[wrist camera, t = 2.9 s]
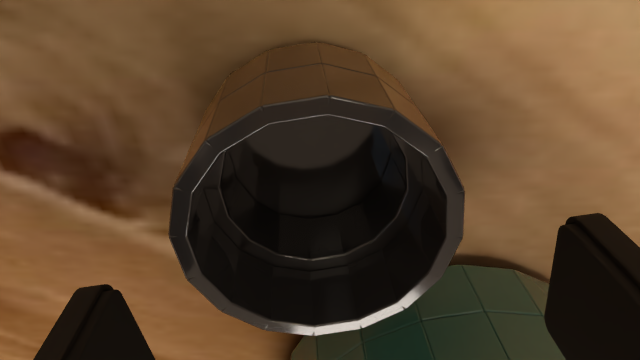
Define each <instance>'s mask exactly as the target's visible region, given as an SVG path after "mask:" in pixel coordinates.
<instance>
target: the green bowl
mask: <svg viewBox="0 0 640 360" xmlns="http://www.w3.org/2000/svg"><path fill="white" fill-rule="evenodd" d="M548 289H549V284H548V283H546V282H543V281H541V280H539V279H536V278H534V277H531V276H529V275H526V274H524V273H522V272H519V271H517V270H514V269H513V270H512V269H507V268H496V267H485V266H475V265H464V264H463V265H459V264H458V265H452V266H448V267H447V269H446V271H445V273H444V275H443V276H442V277H441V279H440V280H439V281H438V282H437V283H435V284H434V285H433V286H432V287H431V288H430V289H429V290H427V291H426V292H425V293H424V294H423V295H422V296H421V297H420V298H418V299H417V300H416V301H415V302H414V303H413V304H412V305H410V306H409V307H408V308H407V309H405V310H403V311H401V312H399V313H396V314H394V315H392V316H390V317H387V318H385V319H383V320H381V321H378V322H376V323H374V324H372V325H370V326H367V327H365V328H361V329H358V330H351V331H345V332H338V333H331V334H325V335H318V336H314V335H313V336H307V335H304V337H303V338H302V339H301V341H300V342H299V343H298V345H297V346H296V347H295V349H294V350H293V352H292V354H291V357H290V360H566V359H565V358H564V356H563V354H562V353H561V351H560V350H559V348H558V346H557V345H556V343H555V342H554V340H553V339H552V337H551V335H550V334H549V332H548V330H547V327H546V324H545V319H544V314H545V308H546V302H547V296H548Z"/></svg>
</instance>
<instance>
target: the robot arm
mask: <svg viewBox="0 0 640 360" xmlns="http://www.w3.org/2000/svg"><path fill="white" fill-rule="evenodd" d="M544 319H545V324H546V327H547V330H548V332H549V334H550V335H551V337H552V339H553V340H554V342H555V343H556V345H557V346H558V348H559V350H560V351H561V353H562V354H563V356H564V358H565V359H566V360H640V247H638V246H637V245H636V244H635V243H634V242H633V241H632V240H631V239H630V238H629V237H628V236H627V235H625V234H624V233H623V232H622V231H621V230H620V229H619V228H618V227H617V226H616V225H615V224H614V223H612V222H611V221H610V220H609V219H608V218H607V217H606V216H604V215H603V214H600V213H595V214H588V215H581V216H574V217H570V218H568V220H567V221H566V224H565V225H562V226H560V228H559V230H558V235H557V241H556V247H555V253H554V259H553V265H552V271H551V277H550V283H549V289H548V296H547V302H546V308H545V314H544ZM33 360H155V358H154V356H153V354H152V352H151V350H150V348H149V346H148V344H147V342H146V340H145V338H144V336H143V335H142V333H141V331H140V329H139V327H138V325H137V323H136V321H135V319H134V317H133V315H132V313H131V311H130V309H129V307H128V305H127V303H126V301H125V299H124V298H123V296H122V294H121V292H120V291H119V290H113V288H112V287H111V286H110V285H108V284H104V285H97V286H90V287H83V288H79V289H77V290H76V291H75V293H74V294H73V296H72V297H71V299H70V300H69V302H68V304H67V305H66V307H65V309H64V310H63V312H62V314H61V315H60V317H59V318H58V320H57V322H56V323H55V325H54V327H53V328H52V330H51V332H50V333H49V335H48V336H47V338H46V340H45V341H44V343H43V345H42V346H41V348H40V350H39V351H38V353H37V355H36V356H35V358H34V359H33Z"/></svg>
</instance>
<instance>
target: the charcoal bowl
mask: <svg viewBox="0 0 640 360" xmlns="http://www.w3.org/2000/svg"><path fill="white" fill-rule="evenodd" d="M464 203H465V191H464V186H463V184H462V182H461V180H460V178H459V176H458V174H457V172H456V170H455V168H454V166H453V164H452V162H451V160H450V158H449V156H448V154H447V152H446V150H445V148H444V146H443V144H442V143H441V141H440V140H439V139H438V137H437V136H436V134H435V133H434V131H433V130H432V128H431V127H430V126H429V124H428V123H427V121H426V120H425V118H424V117H423V115H422V114H421V112H420V111H419V110H418V108H417V107H416V105H415V104H414V102H413V101H412V99H411V98H410V97H409V95H408V94H407V92H406V91H405V89H404V88H403V86H402V85H401V84H400V82H399V81H398V80H397V79H396V78H395V77H394V76H392V75H391V74H390V73H389V72H387V71H386V70H385V69H383V68H382V67H381V66H380V65H378V64H377V63H376V62H374V61H373V60H372V59H370V58H369V57H368V56H367V55H365V54H363V53H361V52H357V51H353V50H349V49H345V48H341V47H337V46H333V45H329V44H325V43H321V42H317V43H316V42H312V43H306V44H299V45H293V46H287V47H281V48H275V49H270V50H268V51H265V52H264V53H262V54H261V55H259V56H257V57H256V58H254V59H253V60H251V61H250V62H248V63H246V64H245V65H243V66H242V67H240V68H239V69H237V70H235V71H234V72H232V73H231V74H230V76H228V77H227V78H226V80H225V81H224V83H223V84H222V86H221V88H220V89H219V91H218V92H217V94H216V95H215V97H214V98H213V100H212V101H211V103H210V104H209V106H208V108H207V109H206V111H205V114H204V116H203V118H202V121H201V123H200V125H199V128H198V130H197V132H196V135H195V137H194V140H193V142H192V144H191V146H190V149H189V151H188V153H187V156H186V158H185V160H184V163H183V165H182V167H181V170H180V172H179V174H178V177H177V179H176V182H175V184H174V187H173V192H172V202H171V212H170V222H169V232H168V234H169V239H170V241H171V244H172V246H173V248H174V251H175V253H176V256H177V258H178V261H179V263H180V265H181V268H182V270H183V273H184V275H185V277H186V279H187V280H188V281H189V282H190V283H191V284H192V285H193V286H194V287H195V288H196V289H197V290H198V291H199V292H200V293H201V294H202V295H204V296H205V297H206V298H207V299H208V300H209V301H210V302H211V303H212V304H213V305H214V306H215V307H216V308H217V309H218V310H220V311H222V312H223V313H225V314H228V315H230V316H232V317H235V318H237V319H239V320H242V321H244V322H246V323H248V324H251V325H253V326H255V327H258V328H260V329H262V330H266V331H273V332H282V333H290V334H299V335H307V336H313V335H314V336H318V335H325V334H331V333H338V332H345V331H351V330H358V329H361V328H365V327H367V326H370V325H372V324H374V323H376V322H378V321H381V320H383V319H385V318H387V317H390V316H392V315H394V314H396V313H399V312H401V311H403V310H405V309H407V308H408V307H409V306H410V305H412V304H413V303H414V302H415V301H416V300H417V299H418V298H420V297H421V296H422V295H423V294H424V293H425V292H426V291H427V290H429V289H430V288H431V287H432V286H433V285H434V284H435V283H437V282H438V281H439V280H440V279H441V277H442V276H443V275H444V273H445V271H446V269H447V267H448V265H449V263H450V261H451V259H452V258H453V256H454V254H455V252H456V250H457V248H458V246H459V244H460V242H461V240H462V238H463V237H462V236H463V229H464Z"/></svg>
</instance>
